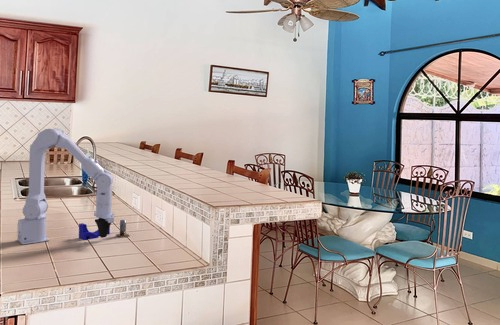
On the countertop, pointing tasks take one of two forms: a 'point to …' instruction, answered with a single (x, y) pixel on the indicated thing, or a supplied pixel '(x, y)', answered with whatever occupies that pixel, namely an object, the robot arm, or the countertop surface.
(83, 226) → the cable clip
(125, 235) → the post
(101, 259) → the countertop surface
